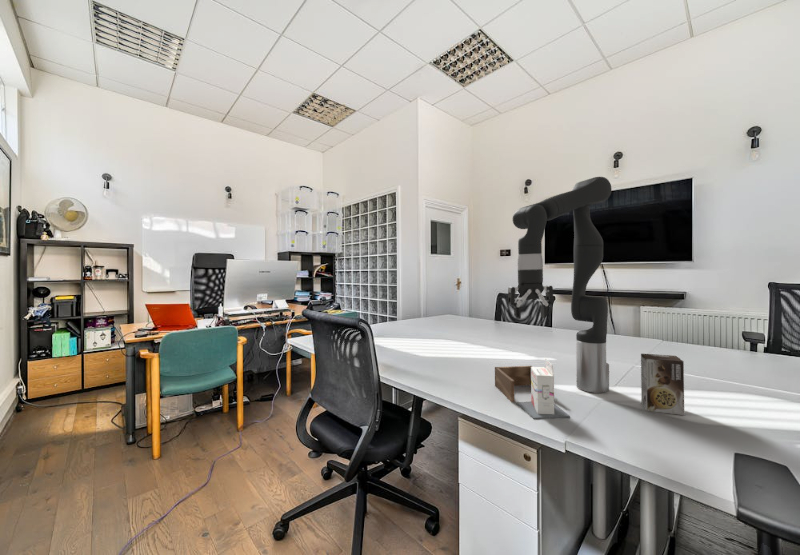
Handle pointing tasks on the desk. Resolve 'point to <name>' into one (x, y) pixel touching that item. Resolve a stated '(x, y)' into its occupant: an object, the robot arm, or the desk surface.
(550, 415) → the mat
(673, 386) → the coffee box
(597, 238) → the robot arm
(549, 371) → the ink cartridge box
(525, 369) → the open front box
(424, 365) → the desk surface
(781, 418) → the desk surface
